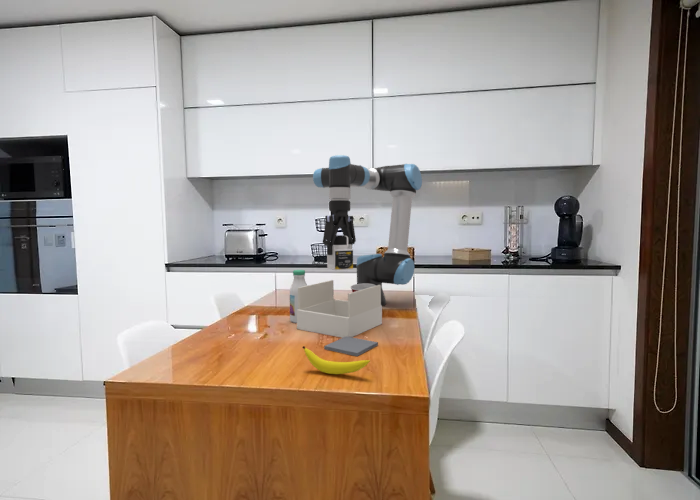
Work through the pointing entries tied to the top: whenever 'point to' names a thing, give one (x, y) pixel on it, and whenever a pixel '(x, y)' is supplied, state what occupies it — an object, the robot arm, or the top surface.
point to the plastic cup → (361, 286)
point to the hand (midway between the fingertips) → (340, 263)
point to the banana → (334, 364)
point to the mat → (351, 346)
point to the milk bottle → (296, 293)
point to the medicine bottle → (342, 254)
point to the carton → (338, 310)
